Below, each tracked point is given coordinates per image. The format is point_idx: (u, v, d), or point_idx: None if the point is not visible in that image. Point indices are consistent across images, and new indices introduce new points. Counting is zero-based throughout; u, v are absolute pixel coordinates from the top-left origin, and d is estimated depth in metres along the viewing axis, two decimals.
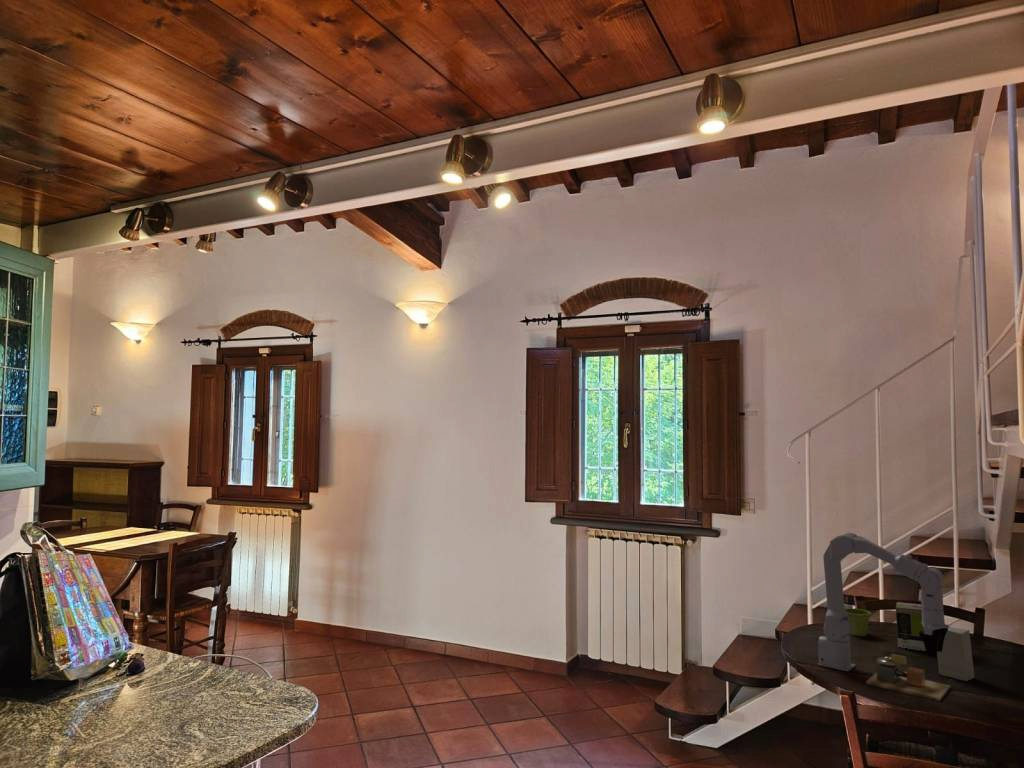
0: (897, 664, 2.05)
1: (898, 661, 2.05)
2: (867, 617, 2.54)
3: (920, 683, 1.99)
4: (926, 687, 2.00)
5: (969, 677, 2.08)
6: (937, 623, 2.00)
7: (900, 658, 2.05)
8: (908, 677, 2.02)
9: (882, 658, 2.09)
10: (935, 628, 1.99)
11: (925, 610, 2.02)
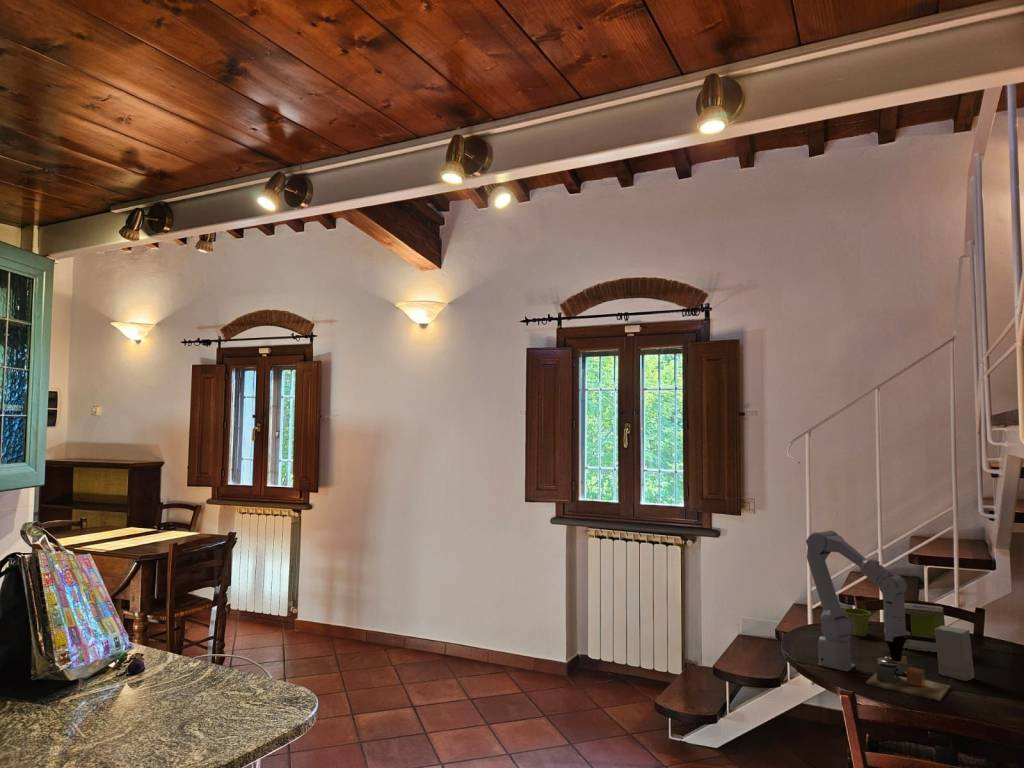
0: (897, 664, 2.05)
1: None
2: (867, 617, 2.54)
3: (920, 683, 1.99)
4: (926, 687, 2.00)
5: (969, 677, 2.08)
6: (898, 630, 2.03)
7: None
8: (908, 677, 2.02)
9: (882, 658, 2.09)
10: (896, 635, 2.02)
11: (887, 617, 2.06)
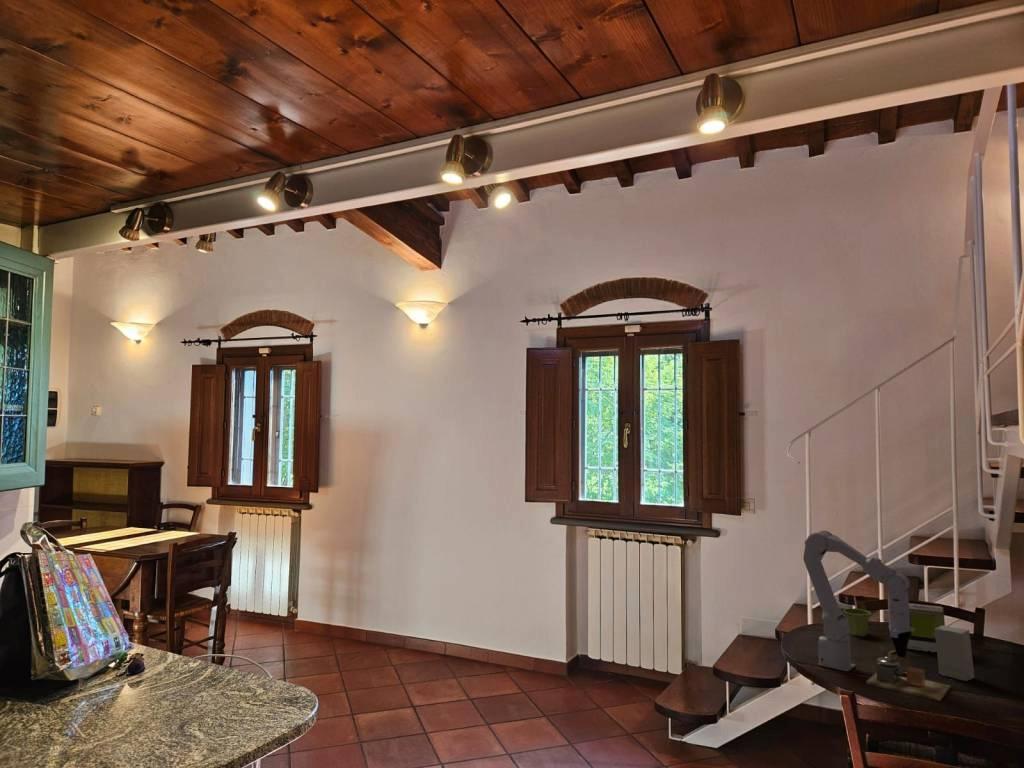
0: None
1: (894, 657, 2.09)
2: (867, 617, 2.54)
3: (920, 683, 1.99)
4: (926, 687, 2.00)
5: (969, 677, 2.08)
6: (903, 626, 2.07)
7: (895, 653, 2.09)
8: (908, 677, 2.02)
9: (881, 660, 2.07)
10: (901, 631, 2.05)
11: (891, 614, 2.09)
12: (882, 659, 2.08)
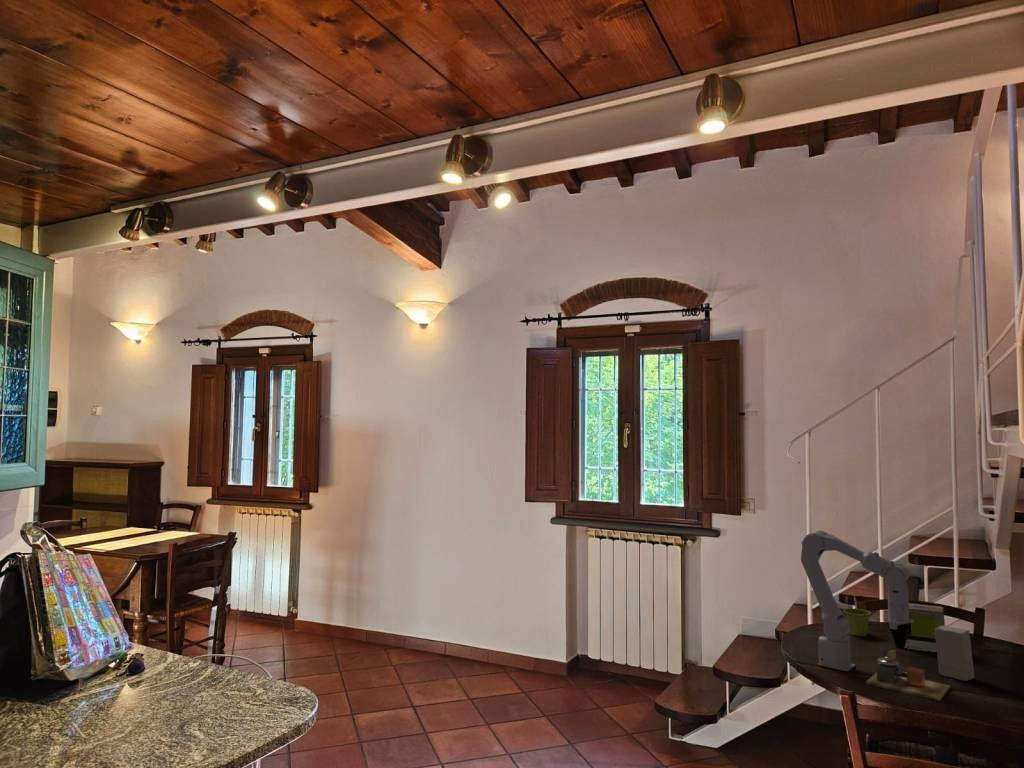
0: None
1: (893, 657, 2.09)
2: (867, 617, 2.54)
3: (920, 683, 1.99)
4: (926, 687, 2.00)
5: (969, 677, 2.08)
6: (902, 618, 2.07)
7: (894, 653, 2.09)
8: (908, 677, 2.02)
9: (882, 661, 2.07)
10: (900, 623, 2.05)
11: (891, 606, 2.09)
12: (882, 659, 2.08)
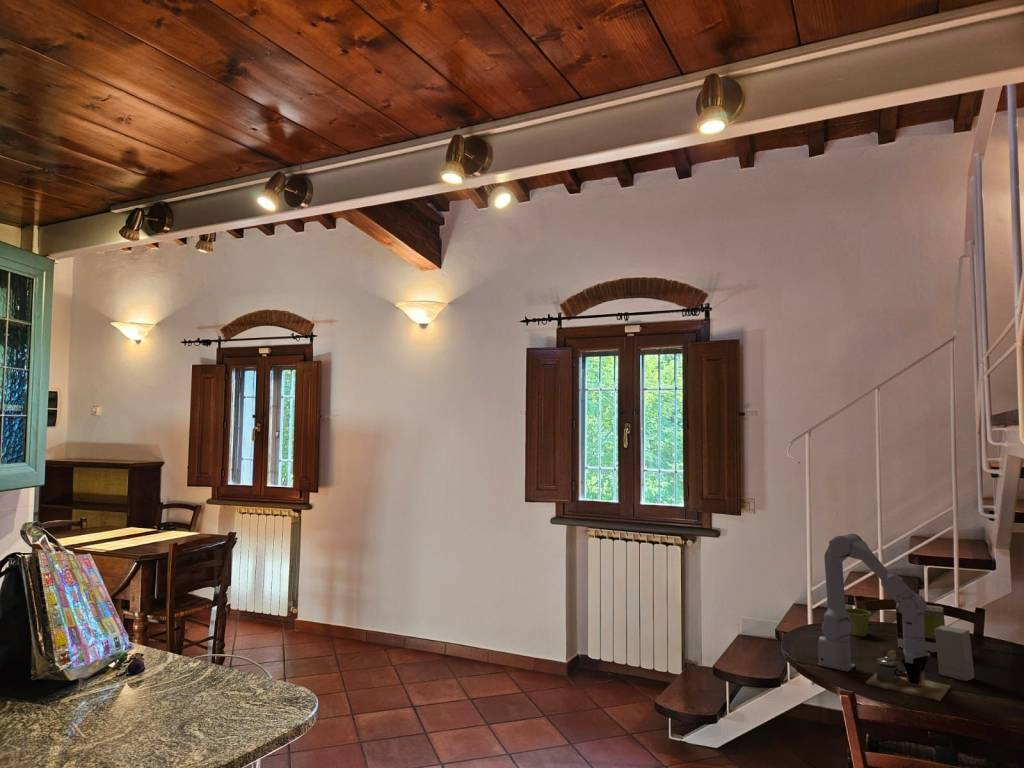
0: None
1: (893, 657, 2.09)
2: (867, 617, 2.54)
3: (920, 683, 1.99)
4: (926, 687, 2.00)
5: (969, 677, 2.08)
6: (918, 651, 2.00)
7: (894, 653, 2.09)
8: None
9: (882, 661, 2.07)
10: (916, 656, 1.98)
11: (906, 638, 2.02)
12: (882, 659, 2.08)
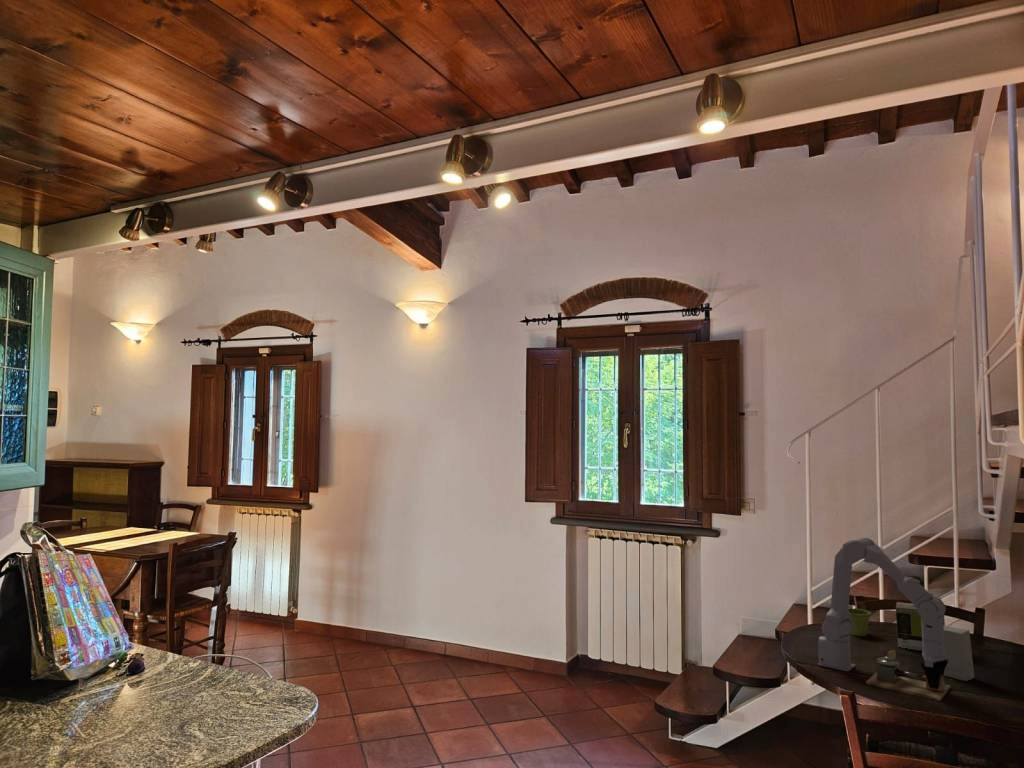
0: None
1: (893, 657, 2.09)
2: (867, 617, 2.54)
3: (940, 687, 1.96)
4: None
5: (969, 677, 2.08)
6: (938, 655, 1.96)
7: (894, 653, 2.09)
8: (927, 681, 1.98)
9: (882, 661, 2.07)
10: (936, 660, 1.95)
11: (926, 641, 1.99)
12: (882, 659, 2.08)
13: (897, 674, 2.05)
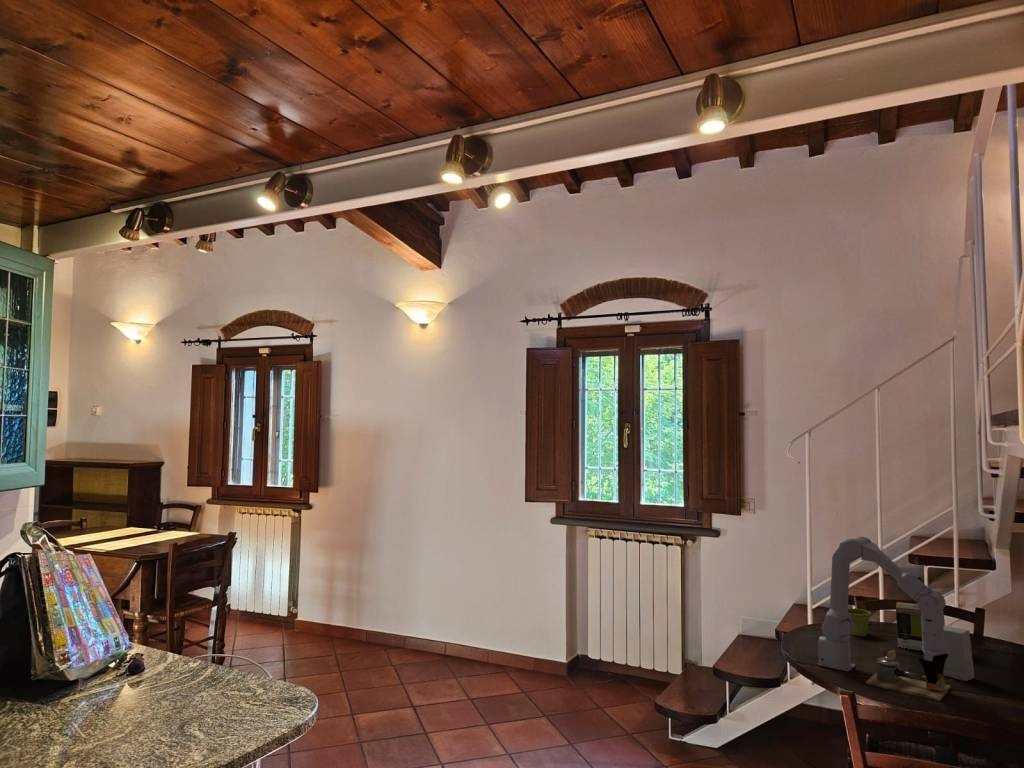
0: None
1: (893, 657, 2.09)
2: (867, 617, 2.54)
3: (940, 687, 1.96)
4: None
5: (969, 677, 2.08)
6: (937, 649, 1.96)
7: (894, 653, 2.09)
8: None
9: (882, 661, 2.07)
10: (935, 654, 1.95)
11: (925, 635, 1.99)
12: (882, 659, 2.08)
13: (897, 674, 2.05)
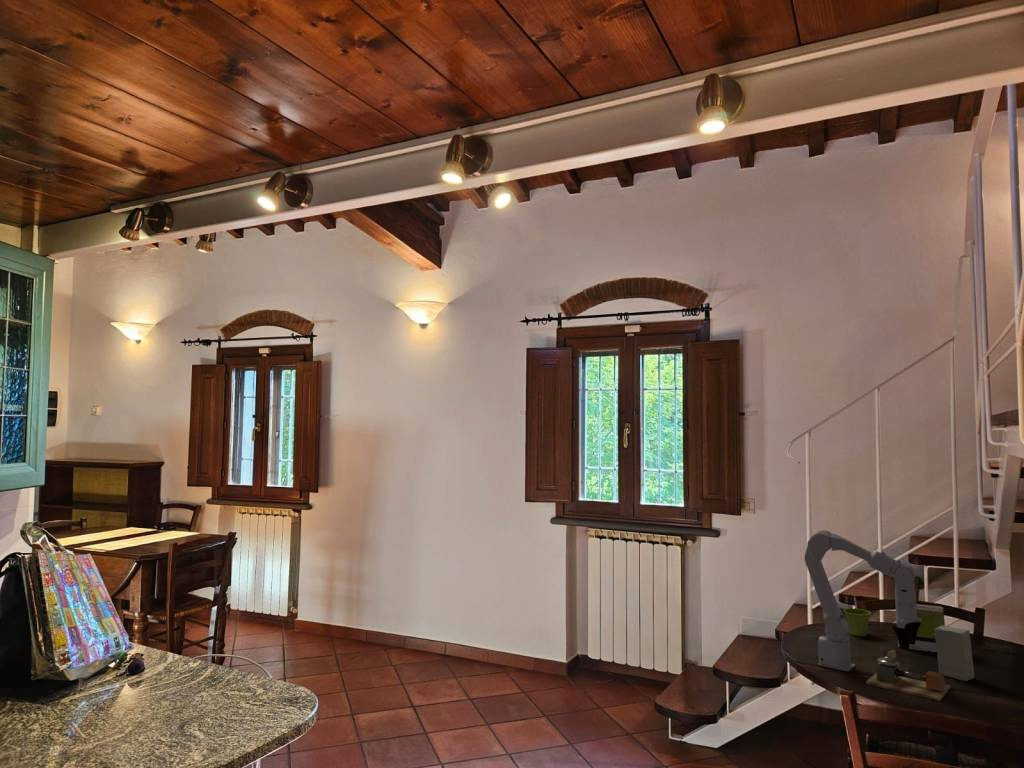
0: None
1: (893, 657, 2.09)
2: (867, 617, 2.54)
3: (940, 687, 1.96)
4: None
5: (969, 677, 2.08)
6: (910, 617, 2.08)
7: (894, 653, 2.09)
8: (927, 681, 1.98)
9: (882, 661, 2.07)
10: (908, 622, 2.06)
11: (898, 604, 2.10)
12: (882, 659, 2.08)
13: (897, 674, 2.05)
